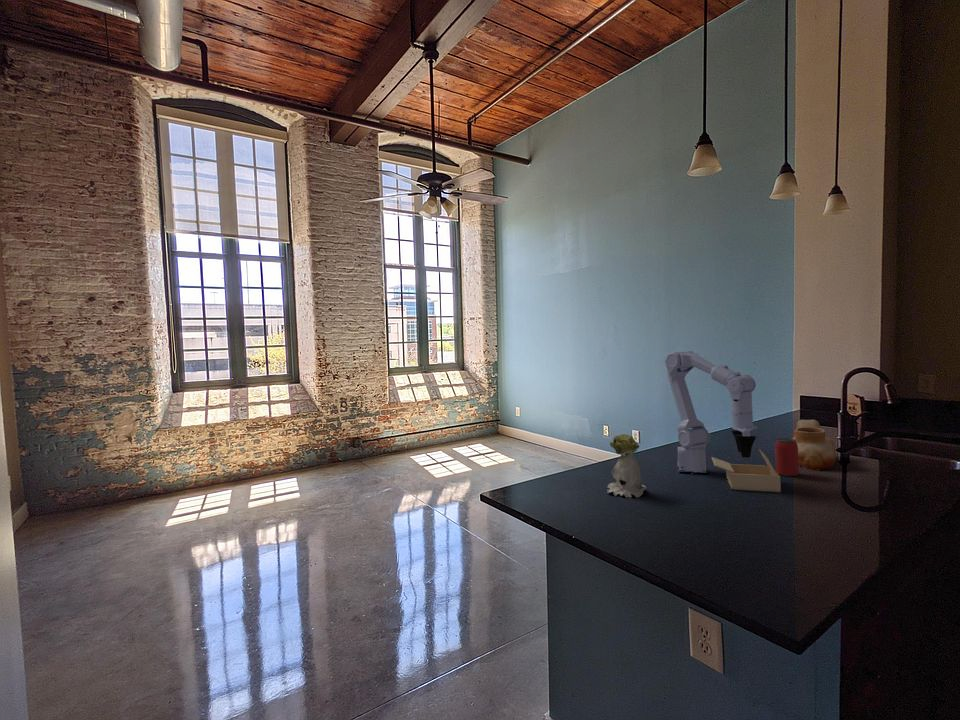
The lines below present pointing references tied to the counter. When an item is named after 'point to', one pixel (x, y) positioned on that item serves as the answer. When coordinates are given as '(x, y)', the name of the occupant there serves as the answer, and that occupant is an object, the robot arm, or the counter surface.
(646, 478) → the counter surface
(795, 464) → the beer can
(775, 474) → the flap
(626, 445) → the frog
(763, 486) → the cardboard box
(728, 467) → the flap
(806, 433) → the ceramic vessel
